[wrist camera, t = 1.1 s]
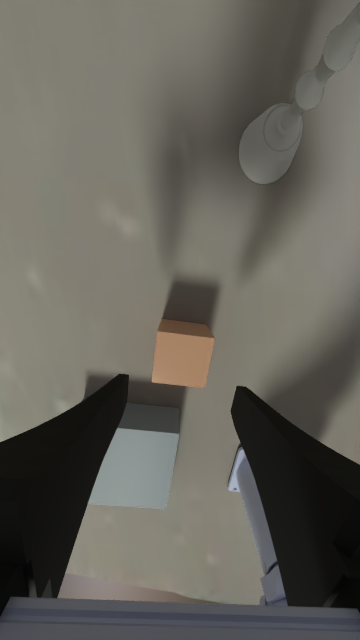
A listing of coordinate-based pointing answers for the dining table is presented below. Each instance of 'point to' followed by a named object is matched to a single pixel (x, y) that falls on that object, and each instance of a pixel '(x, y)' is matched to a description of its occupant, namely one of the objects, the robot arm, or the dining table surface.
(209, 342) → the terracotta block
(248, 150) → the chalice
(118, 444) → the slate box
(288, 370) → the dining table surface
